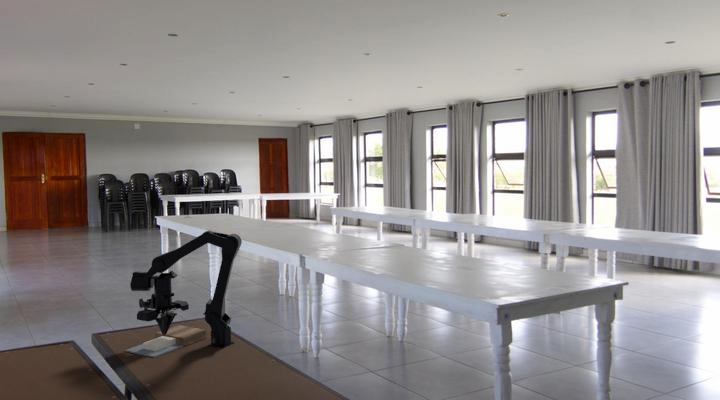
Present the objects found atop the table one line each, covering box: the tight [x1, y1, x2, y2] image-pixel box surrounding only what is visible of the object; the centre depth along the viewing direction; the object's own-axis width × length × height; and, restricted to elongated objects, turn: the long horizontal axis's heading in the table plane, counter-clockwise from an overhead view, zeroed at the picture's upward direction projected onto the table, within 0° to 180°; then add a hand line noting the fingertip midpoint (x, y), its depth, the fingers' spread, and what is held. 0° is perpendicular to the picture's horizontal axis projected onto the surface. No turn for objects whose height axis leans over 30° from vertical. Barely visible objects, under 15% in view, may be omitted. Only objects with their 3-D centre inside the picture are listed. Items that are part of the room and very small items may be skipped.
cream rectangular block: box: [142, 336, 176, 351], centre depth 199 cm, size 6×9×2 cm, turn 152°
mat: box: [124, 343, 184, 359], centre depth 198 cm, size 14×13×1 cm
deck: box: [154, 324, 207, 347], centre depth 208 cm, size 14×11×3 cm
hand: (164, 334), depth 201 cm, fingers closed
